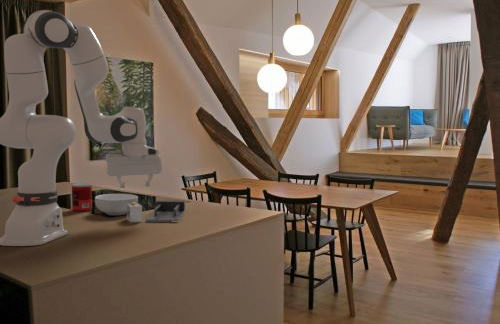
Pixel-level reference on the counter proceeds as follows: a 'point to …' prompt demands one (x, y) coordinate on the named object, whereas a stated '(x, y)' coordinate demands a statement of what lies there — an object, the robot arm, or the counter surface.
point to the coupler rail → (167, 211)
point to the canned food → (81, 197)
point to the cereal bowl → (114, 203)
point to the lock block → (134, 212)
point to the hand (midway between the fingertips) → (134, 186)
